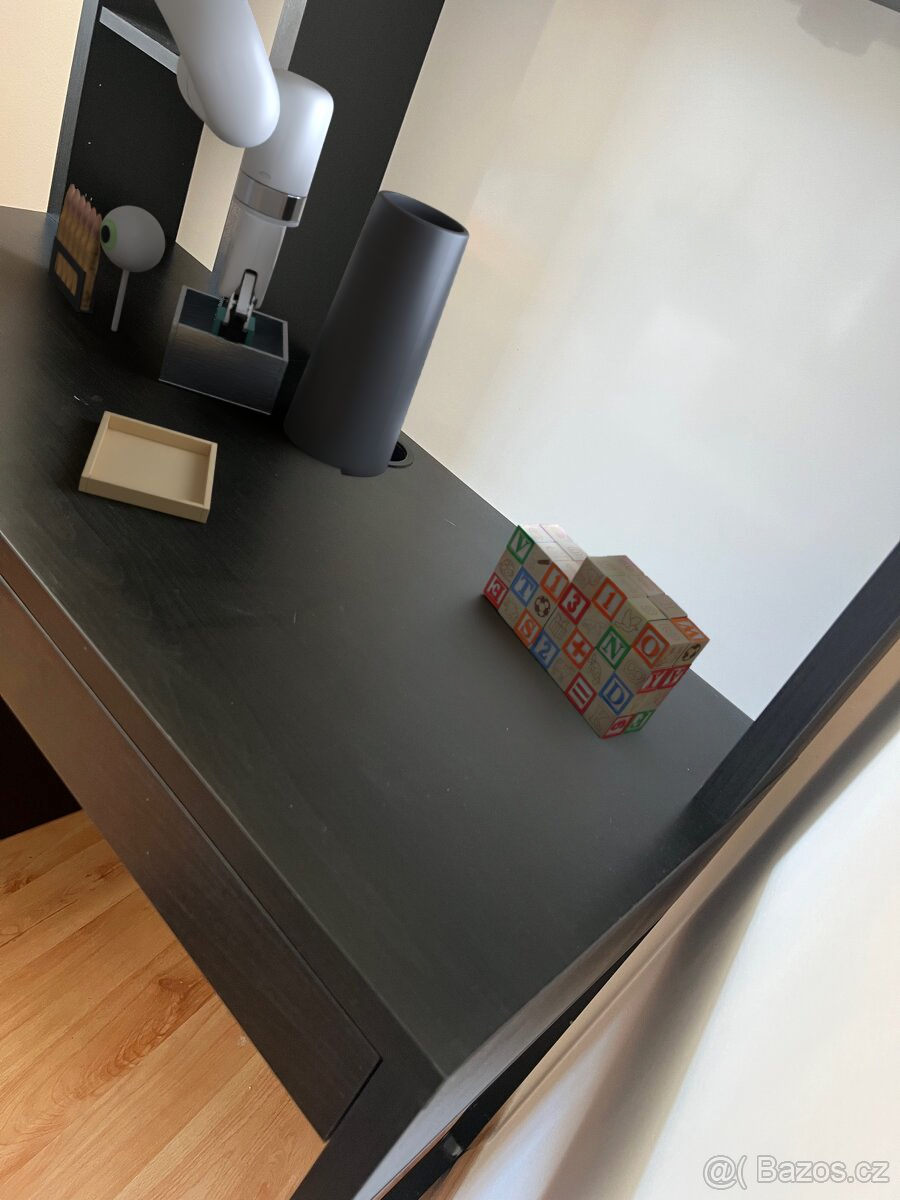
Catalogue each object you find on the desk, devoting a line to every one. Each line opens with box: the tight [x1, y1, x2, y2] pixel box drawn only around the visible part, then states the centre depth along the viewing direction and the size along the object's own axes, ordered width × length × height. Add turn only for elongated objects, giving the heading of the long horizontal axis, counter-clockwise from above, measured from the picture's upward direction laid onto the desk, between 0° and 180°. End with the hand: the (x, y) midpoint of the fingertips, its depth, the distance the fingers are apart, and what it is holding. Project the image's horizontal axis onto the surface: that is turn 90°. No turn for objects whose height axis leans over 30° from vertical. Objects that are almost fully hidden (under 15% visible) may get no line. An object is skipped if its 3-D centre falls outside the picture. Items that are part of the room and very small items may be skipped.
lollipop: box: [100, 205, 166, 332], centre depth 101 cm, size 7×7×15 cm
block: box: [211, 306, 255, 347], centre depth 102 cm, size 4×4×4 cm
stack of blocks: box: [482, 523, 711, 740], centre depth 84 cm, size 21×6×12 cm, turn 34°
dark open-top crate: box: [157, 284, 289, 418], centre depth 103 cm, size 13×13×8 cm
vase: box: [282, 189, 470, 477], centre depth 97 cm, size 14×14×29 cm
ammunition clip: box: [47, 183, 103, 315], centre depth 104 cm, size 11×2×12 cm, turn 39°
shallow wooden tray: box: [78, 410, 218, 524], centre depth 82 cm, size 11×13×2 cm
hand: (227, 347), depth 103 cm, fingers closed on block, 4 cm apart
